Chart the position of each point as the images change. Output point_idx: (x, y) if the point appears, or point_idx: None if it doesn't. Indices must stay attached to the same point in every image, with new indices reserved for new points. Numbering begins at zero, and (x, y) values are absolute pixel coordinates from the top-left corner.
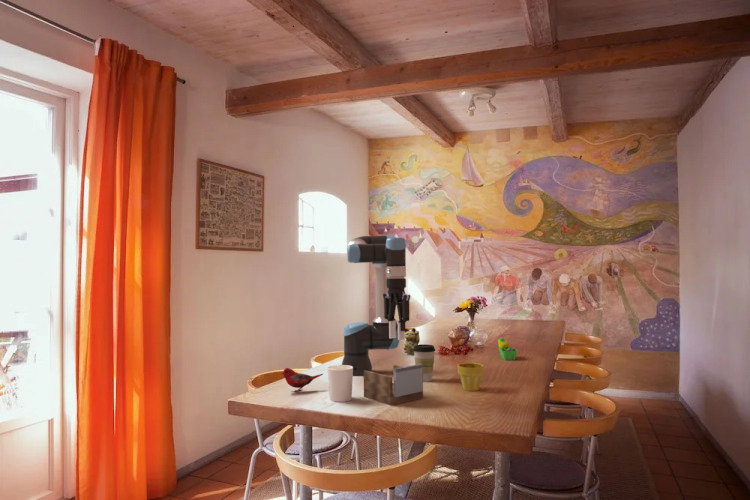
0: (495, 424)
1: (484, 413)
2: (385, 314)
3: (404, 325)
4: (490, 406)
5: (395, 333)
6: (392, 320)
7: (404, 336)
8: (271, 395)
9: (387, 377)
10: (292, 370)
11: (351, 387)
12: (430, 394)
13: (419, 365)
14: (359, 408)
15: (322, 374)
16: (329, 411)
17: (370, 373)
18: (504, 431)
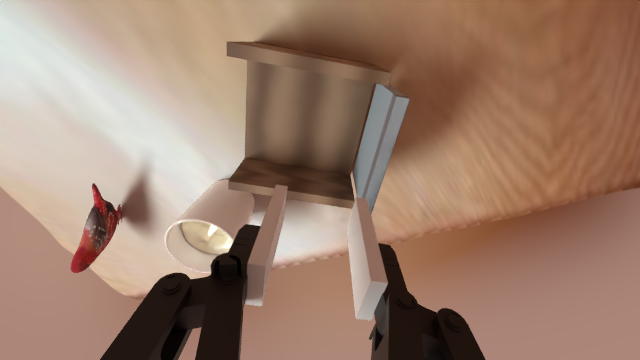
0: (613, 148)
1: (582, 90)
2: (165, 356)
3: (399, 281)
4: (596, 12)
5: (283, 202)
6: (246, 284)
7: (368, 209)
8: (123, 253)
9: (342, 206)
10: (82, 258)
11: (245, 206)
12: (373, 12)
13: (403, 114)
14: (312, 220)
15: (95, 185)
16: (286, 257)
17: (264, 193)
18: (633, 174)
